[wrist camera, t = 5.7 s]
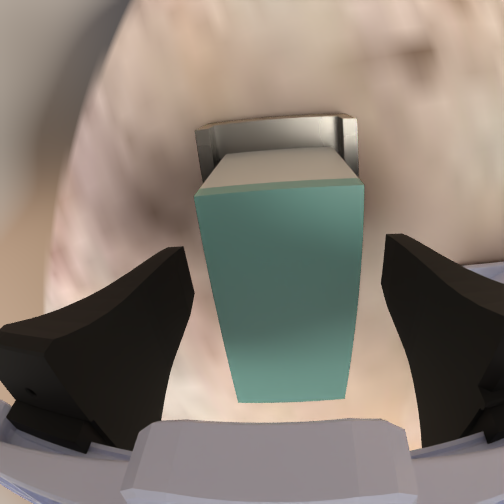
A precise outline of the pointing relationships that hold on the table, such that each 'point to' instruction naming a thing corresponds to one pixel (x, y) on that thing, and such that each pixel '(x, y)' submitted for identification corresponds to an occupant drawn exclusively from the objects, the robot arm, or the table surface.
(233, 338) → the teal rectangular brick
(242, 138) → the grey rectangular tray
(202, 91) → the table surface
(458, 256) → the table surface
